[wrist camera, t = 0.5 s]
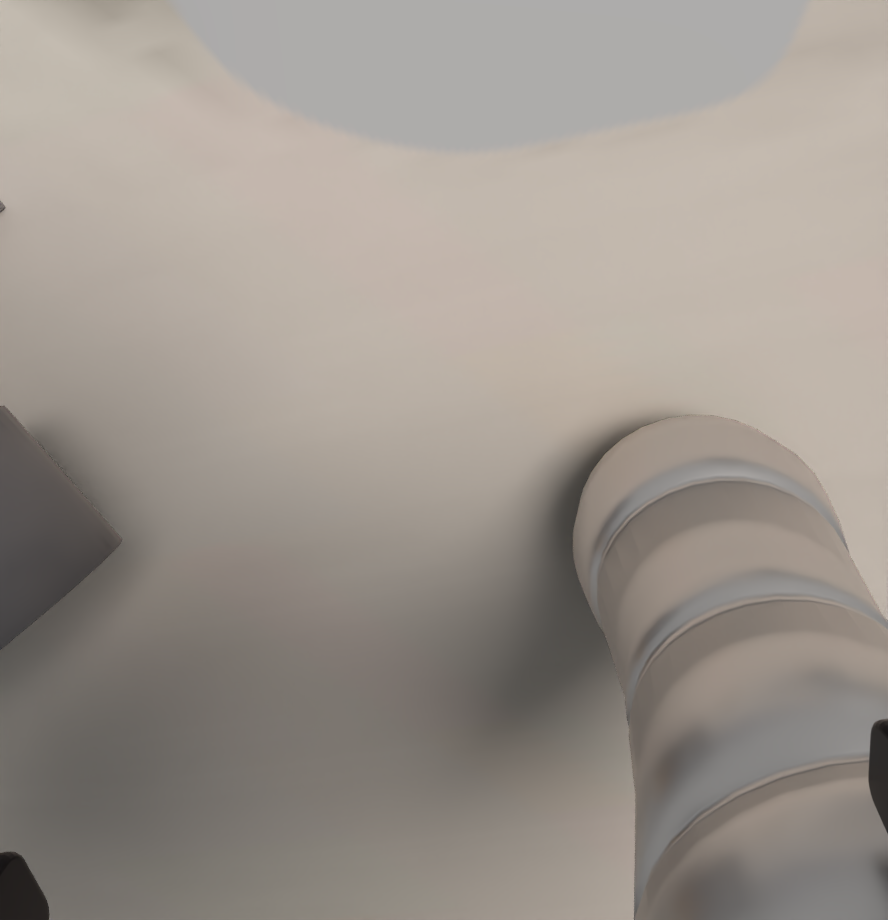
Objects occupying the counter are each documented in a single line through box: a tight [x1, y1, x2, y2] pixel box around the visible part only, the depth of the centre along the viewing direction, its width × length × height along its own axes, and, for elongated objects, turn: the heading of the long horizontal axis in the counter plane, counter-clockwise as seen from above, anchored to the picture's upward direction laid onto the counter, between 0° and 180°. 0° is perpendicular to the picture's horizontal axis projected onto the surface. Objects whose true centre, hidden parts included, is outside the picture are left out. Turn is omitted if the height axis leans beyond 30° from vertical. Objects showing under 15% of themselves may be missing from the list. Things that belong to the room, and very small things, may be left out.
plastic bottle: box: [573, 415, 888, 920], centre depth 15 cm, size 6×7×20 cm
